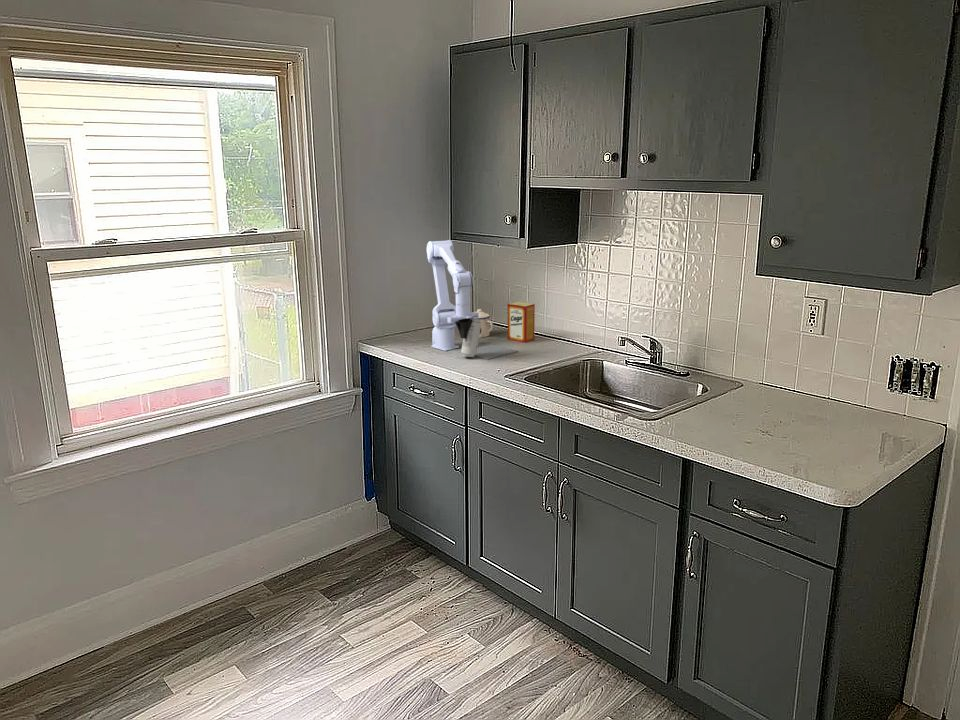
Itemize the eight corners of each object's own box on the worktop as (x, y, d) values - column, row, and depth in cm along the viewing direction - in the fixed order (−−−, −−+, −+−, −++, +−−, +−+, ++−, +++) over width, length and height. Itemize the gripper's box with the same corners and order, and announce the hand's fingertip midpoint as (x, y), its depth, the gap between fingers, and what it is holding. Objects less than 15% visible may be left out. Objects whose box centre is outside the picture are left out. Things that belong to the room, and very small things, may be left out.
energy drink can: (478, 358, 291) (484, 320, 290) (465, 356, 288) (471, 318, 287) (470, 355, 296) (477, 318, 295) (457, 354, 293) (464, 316, 292)
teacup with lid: (465, 335, 328) (464, 309, 325) (478, 331, 335) (478, 306, 332) (486, 339, 321) (486, 313, 318) (499, 335, 327) (499, 309, 324)
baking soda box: (507, 339, 321) (507, 303, 316) (516, 336, 326) (516, 300, 321) (525, 342, 315) (525, 305, 311) (534, 339, 320) (534, 303, 315)
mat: (462, 352, 300) (462, 351, 300) (492, 345, 311) (492, 344, 311) (487, 359, 289) (487, 358, 289) (518, 351, 300) (518, 350, 300)
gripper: (455, 307, 278) (456, 343, 281) (484, 302, 287) (484, 336, 291) (443, 305, 283) (444, 339, 286) (471, 300, 292) (472, 333, 296)
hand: (463, 338), depth 289 cm, fingers closed
